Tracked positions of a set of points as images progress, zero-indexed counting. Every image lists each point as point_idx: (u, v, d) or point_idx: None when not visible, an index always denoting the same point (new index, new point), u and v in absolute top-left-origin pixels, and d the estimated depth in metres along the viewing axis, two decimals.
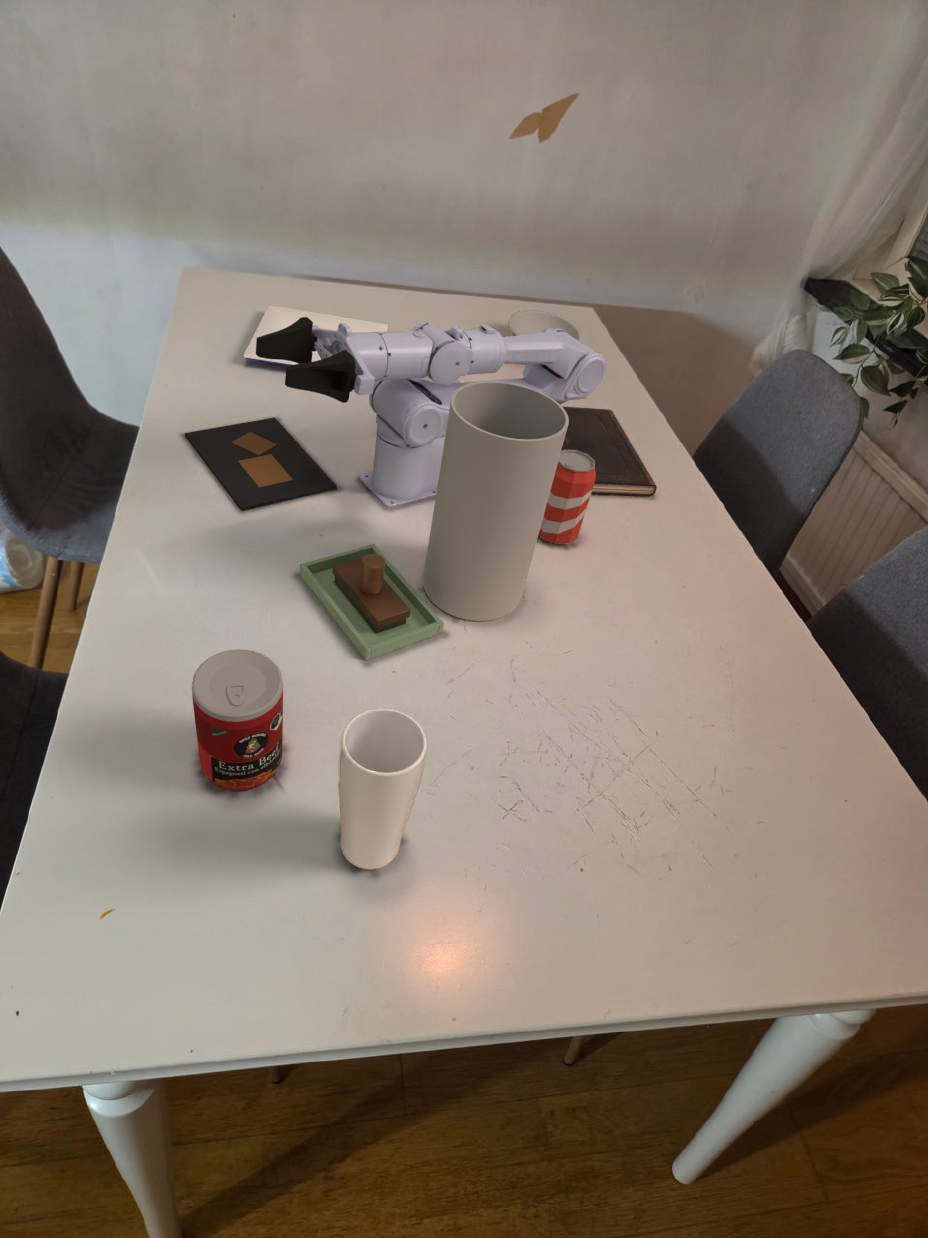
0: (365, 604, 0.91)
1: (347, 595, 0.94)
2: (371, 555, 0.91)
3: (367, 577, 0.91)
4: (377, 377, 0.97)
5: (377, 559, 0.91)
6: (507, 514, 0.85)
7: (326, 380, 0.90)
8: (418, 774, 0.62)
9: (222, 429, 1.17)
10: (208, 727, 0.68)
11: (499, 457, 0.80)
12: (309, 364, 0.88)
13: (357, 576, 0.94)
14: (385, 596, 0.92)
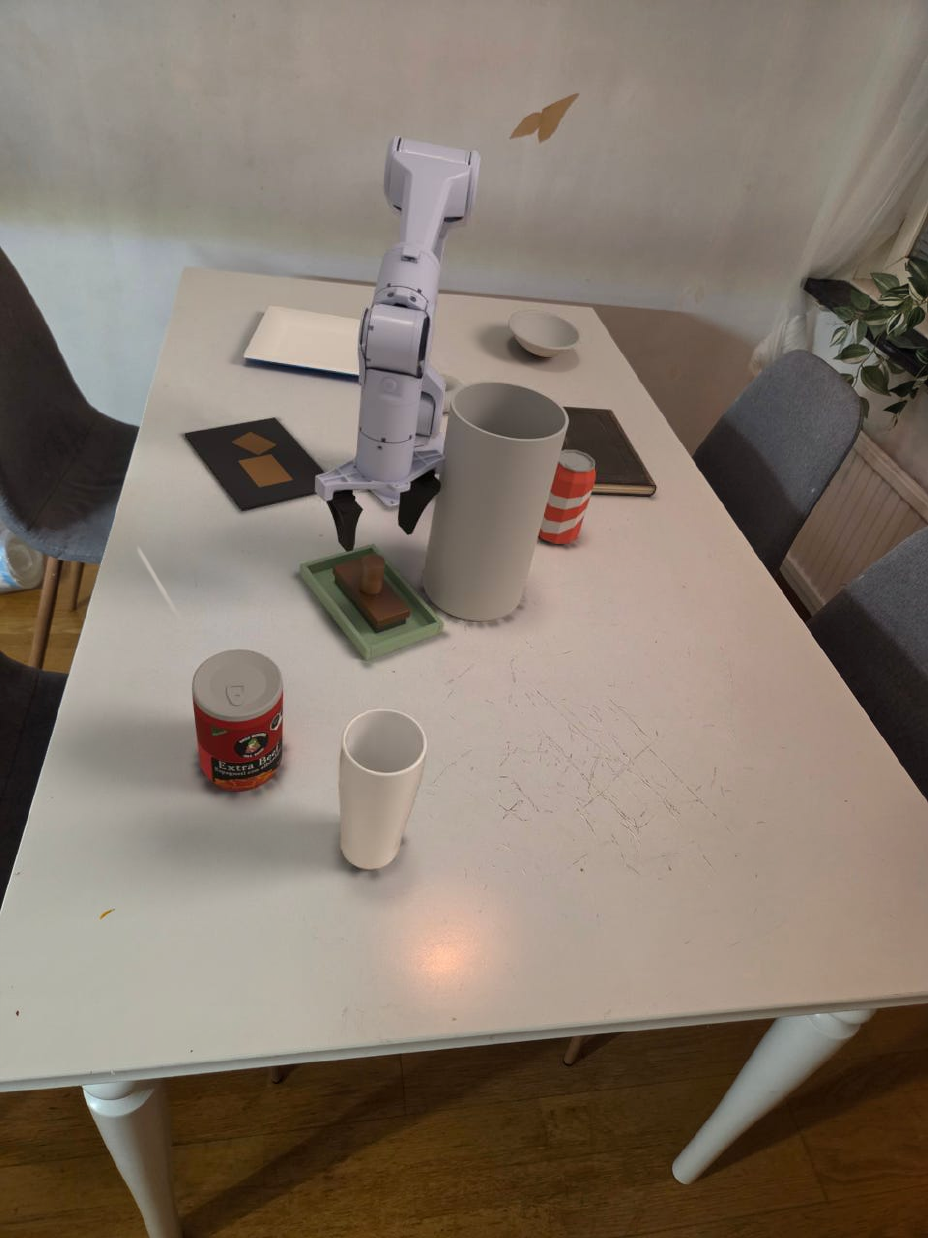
0: (365, 604, 0.91)
1: (347, 595, 0.94)
2: (371, 555, 0.91)
3: (367, 577, 0.91)
4: None
5: (377, 559, 0.91)
6: (507, 514, 0.85)
7: None
8: (418, 774, 0.62)
9: (222, 429, 1.17)
10: (208, 727, 0.68)
11: (499, 456, 0.80)
12: (417, 518, 0.88)
13: (357, 576, 0.94)
14: (385, 596, 0.92)
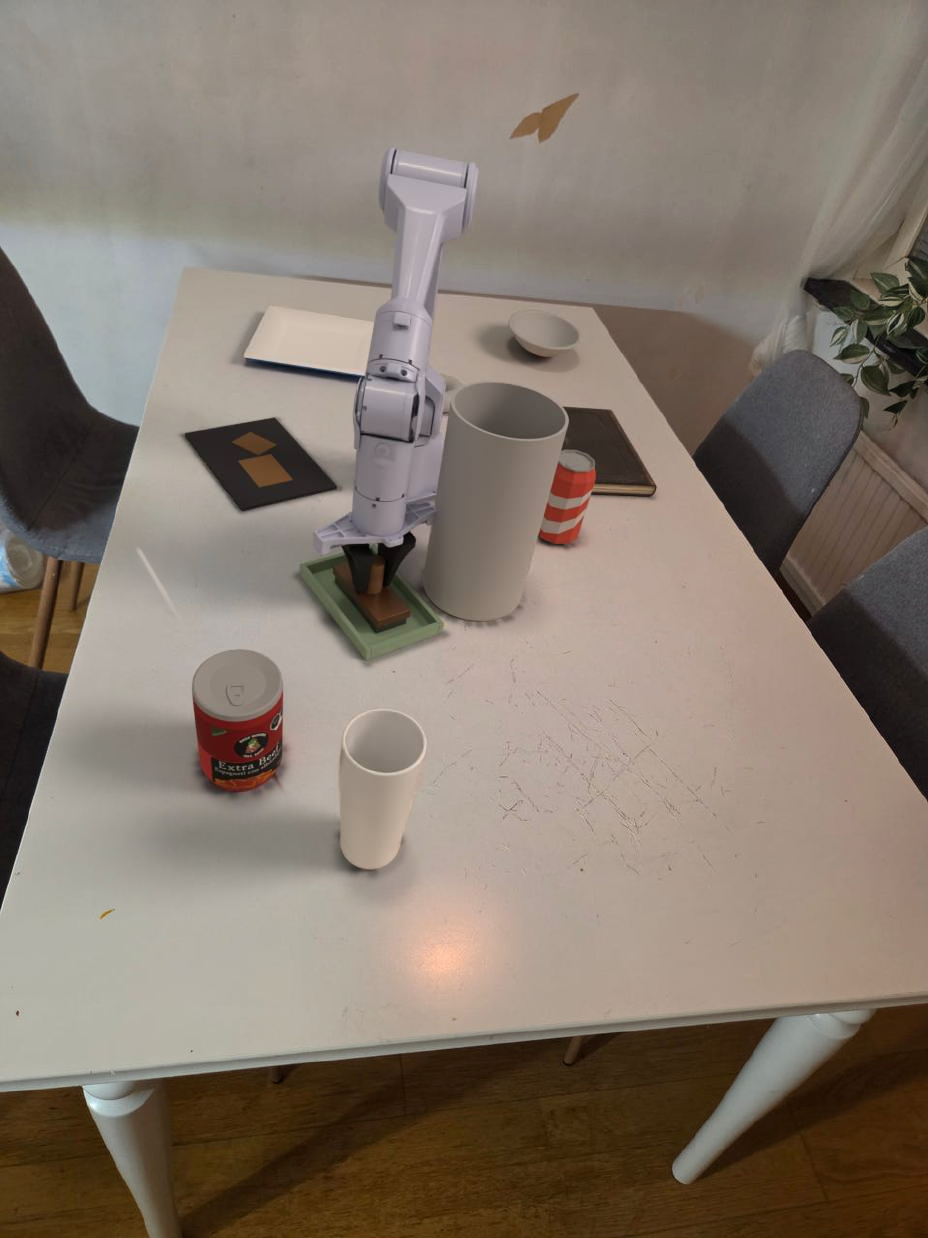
0: (365, 604, 0.91)
1: (348, 595, 0.94)
2: None
3: None
4: None
5: (377, 559, 0.91)
6: (507, 514, 0.85)
7: None
8: (418, 774, 0.62)
9: (222, 429, 1.17)
10: (208, 727, 0.68)
11: (499, 456, 0.80)
12: (393, 571, 0.91)
13: None
14: (385, 596, 0.92)
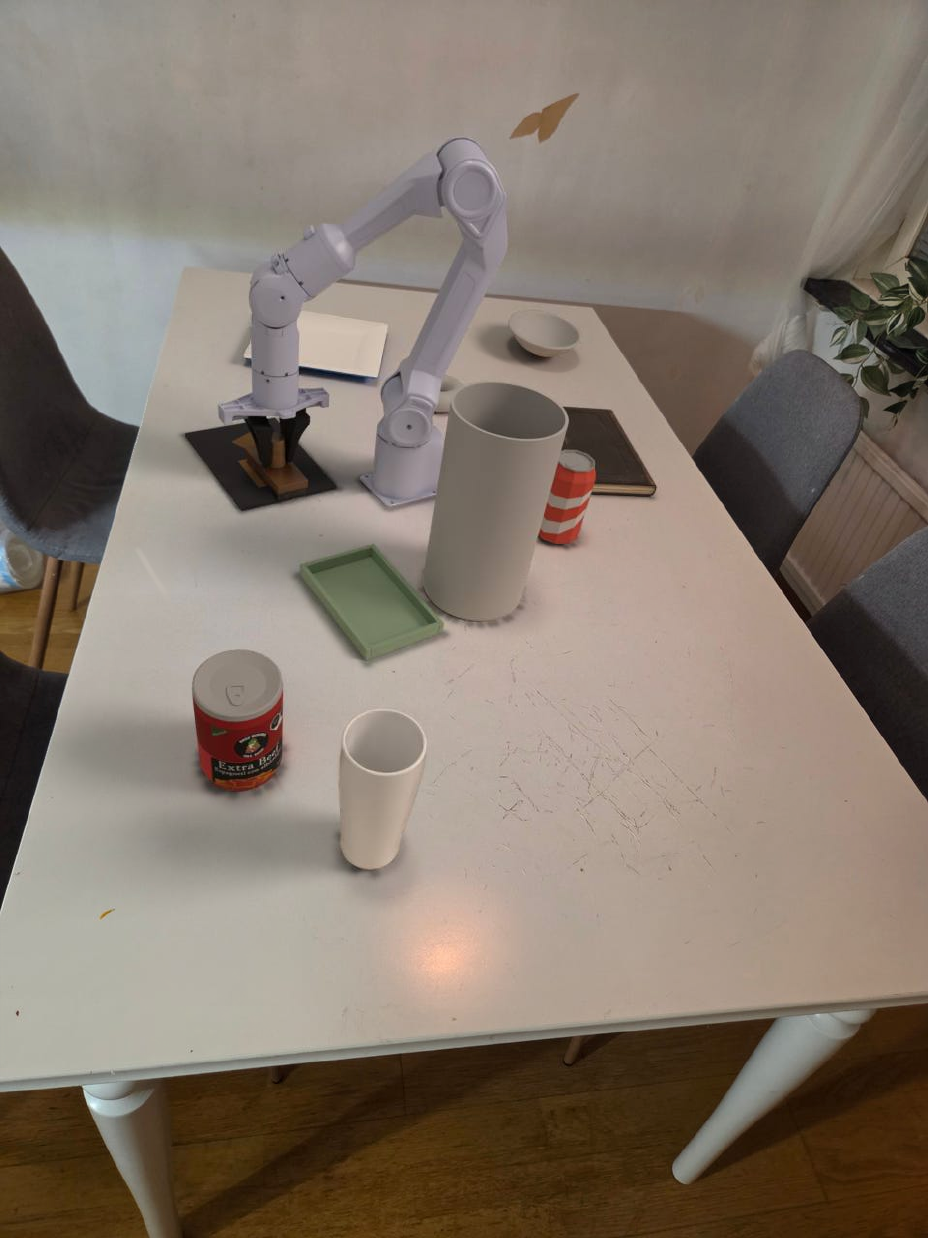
0: (268, 475, 1.06)
1: (256, 471, 1.10)
2: (274, 433, 1.07)
3: None
4: None
5: (278, 436, 1.06)
6: (507, 514, 0.85)
7: None
8: (418, 774, 0.62)
9: (222, 429, 1.17)
10: (208, 727, 0.68)
11: (499, 456, 0.80)
12: (293, 447, 1.07)
13: None
14: (287, 469, 1.08)
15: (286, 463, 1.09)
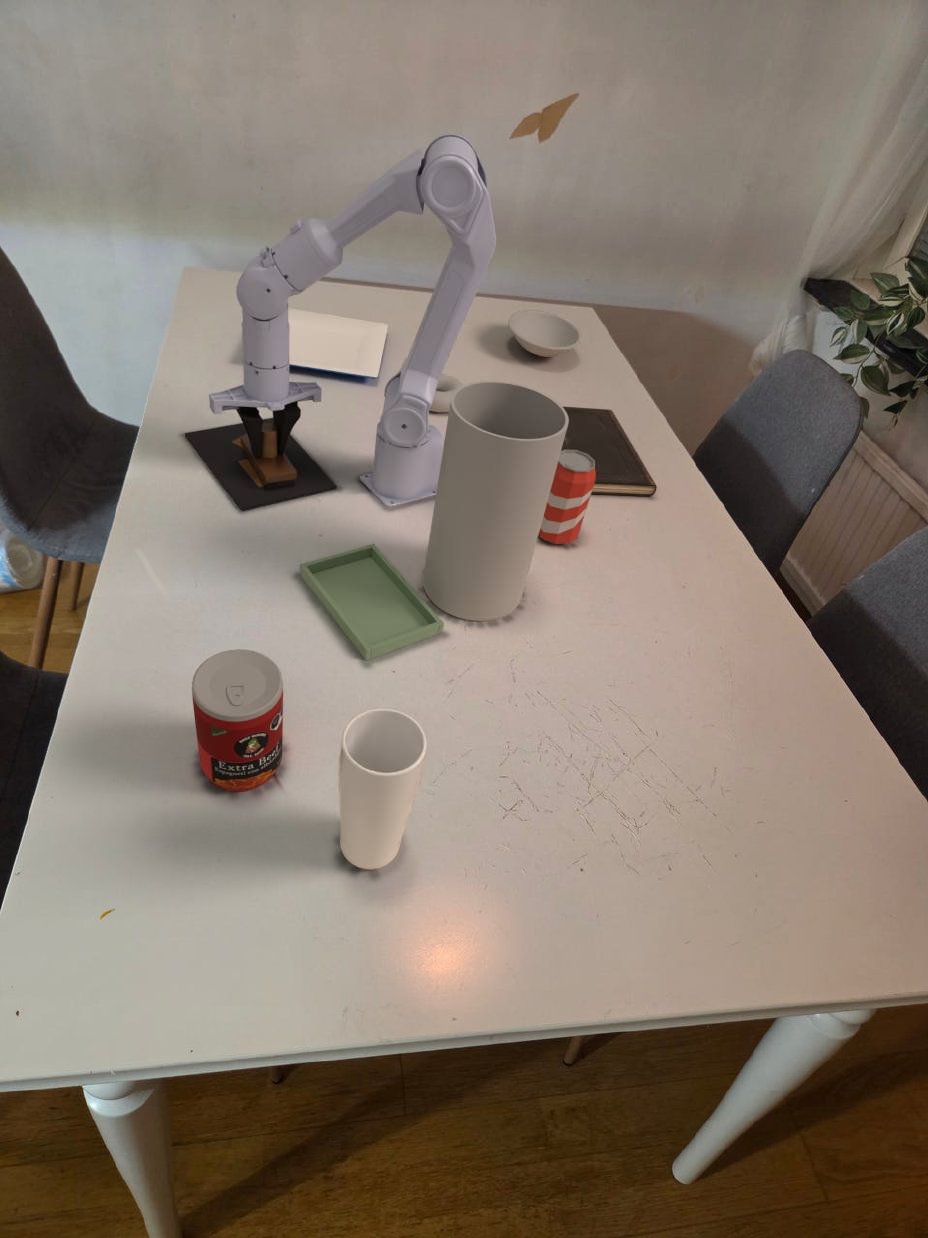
0: (258, 464, 1.08)
1: (250, 461, 1.11)
2: (267, 424, 1.08)
3: (261, 441, 1.08)
4: None
5: (271, 427, 1.08)
6: (507, 514, 0.85)
7: None
8: (418, 774, 0.62)
9: (222, 429, 1.17)
10: (208, 727, 0.68)
11: (499, 456, 0.80)
12: (284, 440, 1.08)
13: None
14: (278, 460, 1.09)
15: (278, 454, 1.10)
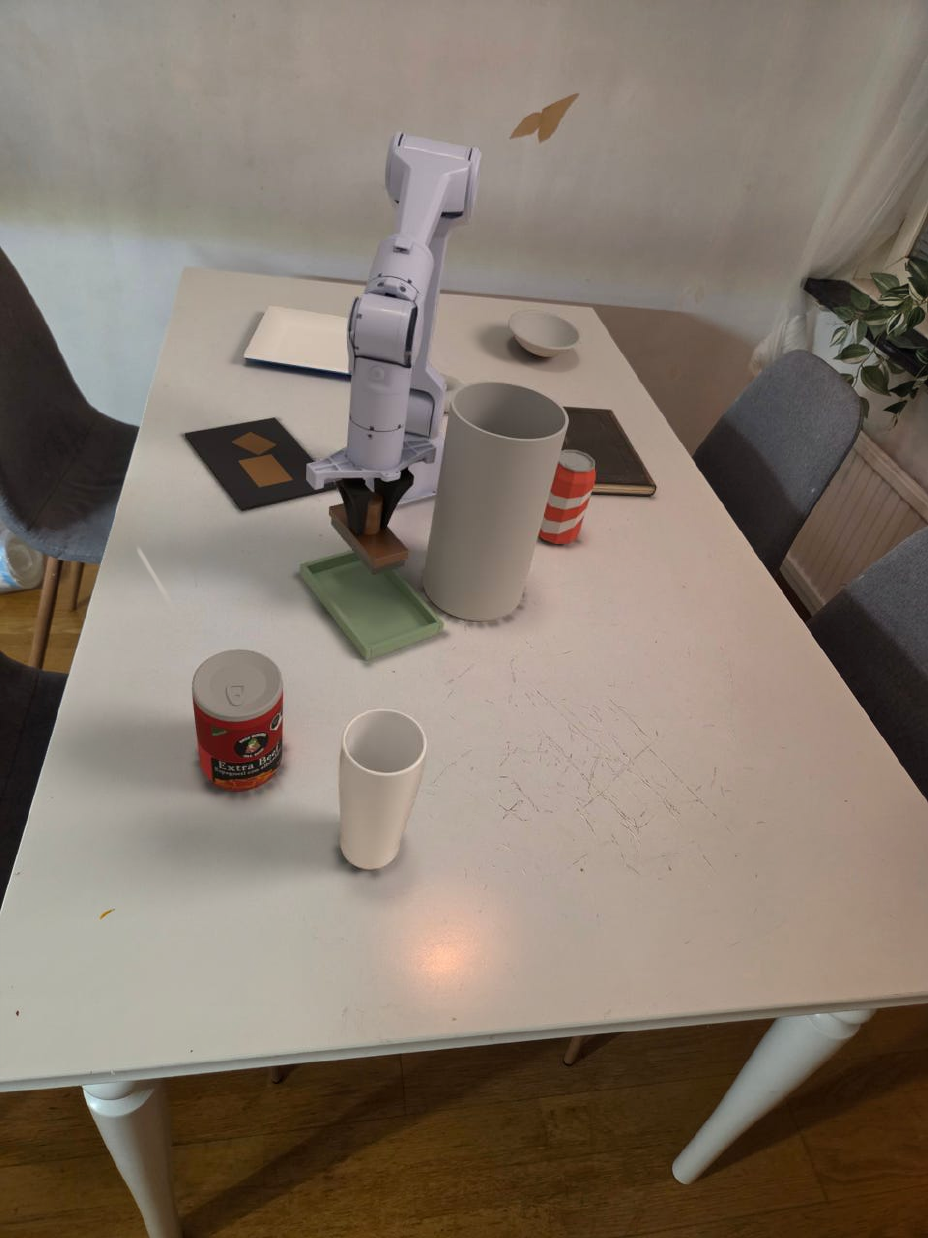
0: (361, 544, 0.87)
1: (344, 537, 0.90)
2: None
3: None
4: None
5: (374, 497, 0.87)
6: (507, 514, 0.85)
7: None
8: (418, 774, 0.62)
9: (222, 429, 1.17)
10: (208, 727, 0.68)
11: (499, 456, 0.80)
12: (391, 511, 0.88)
13: None
14: (383, 536, 0.88)
15: (381, 528, 0.90)
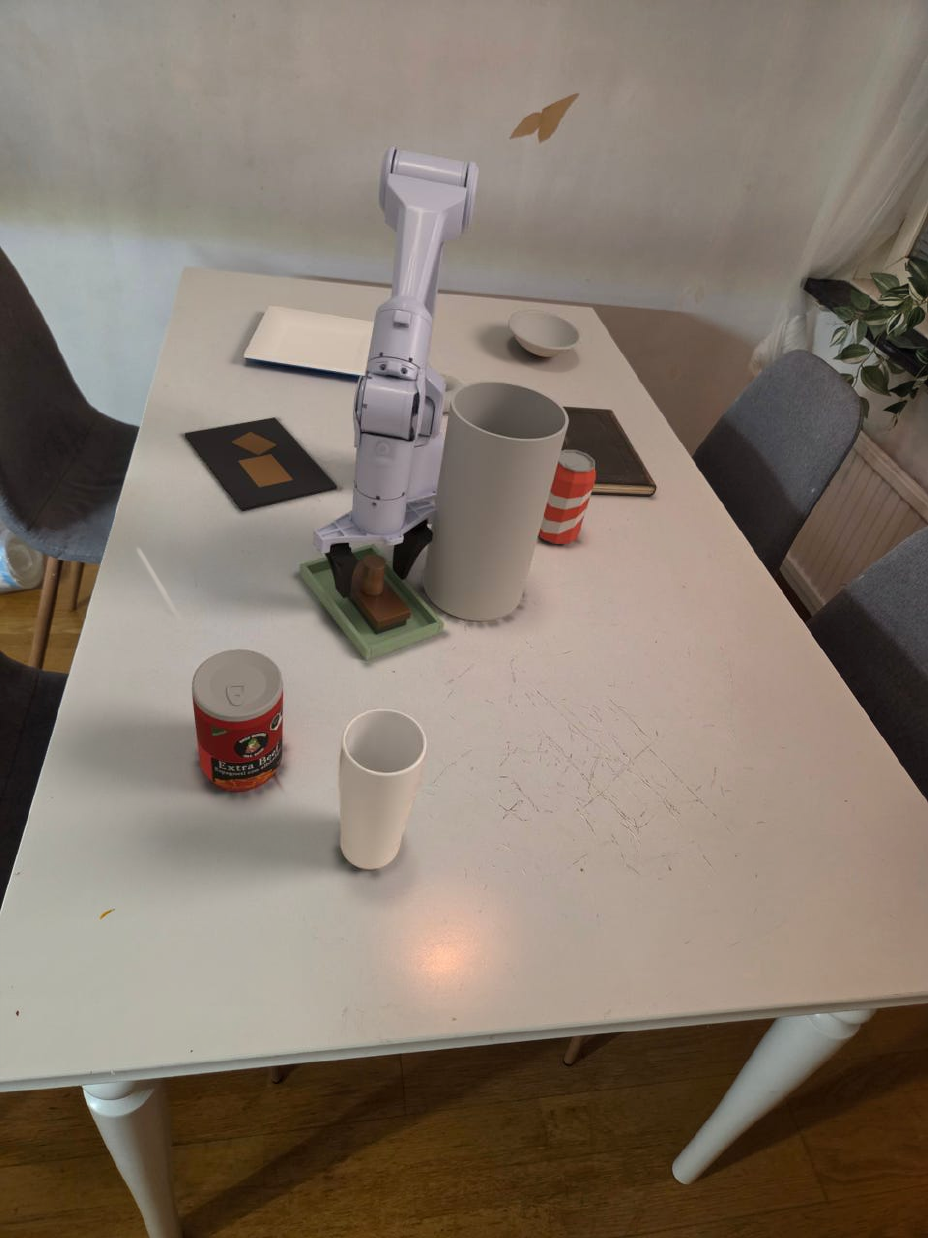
0: (365, 605, 0.91)
1: None
2: (372, 556, 0.91)
3: (367, 578, 0.90)
4: None
5: (378, 560, 0.91)
6: (507, 514, 0.85)
7: None
8: (418, 774, 0.62)
9: (222, 429, 1.17)
10: (208, 727, 0.68)
11: (499, 456, 0.80)
12: (410, 565, 0.92)
13: (358, 577, 0.94)
14: (386, 597, 0.92)
15: (384, 588, 0.93)
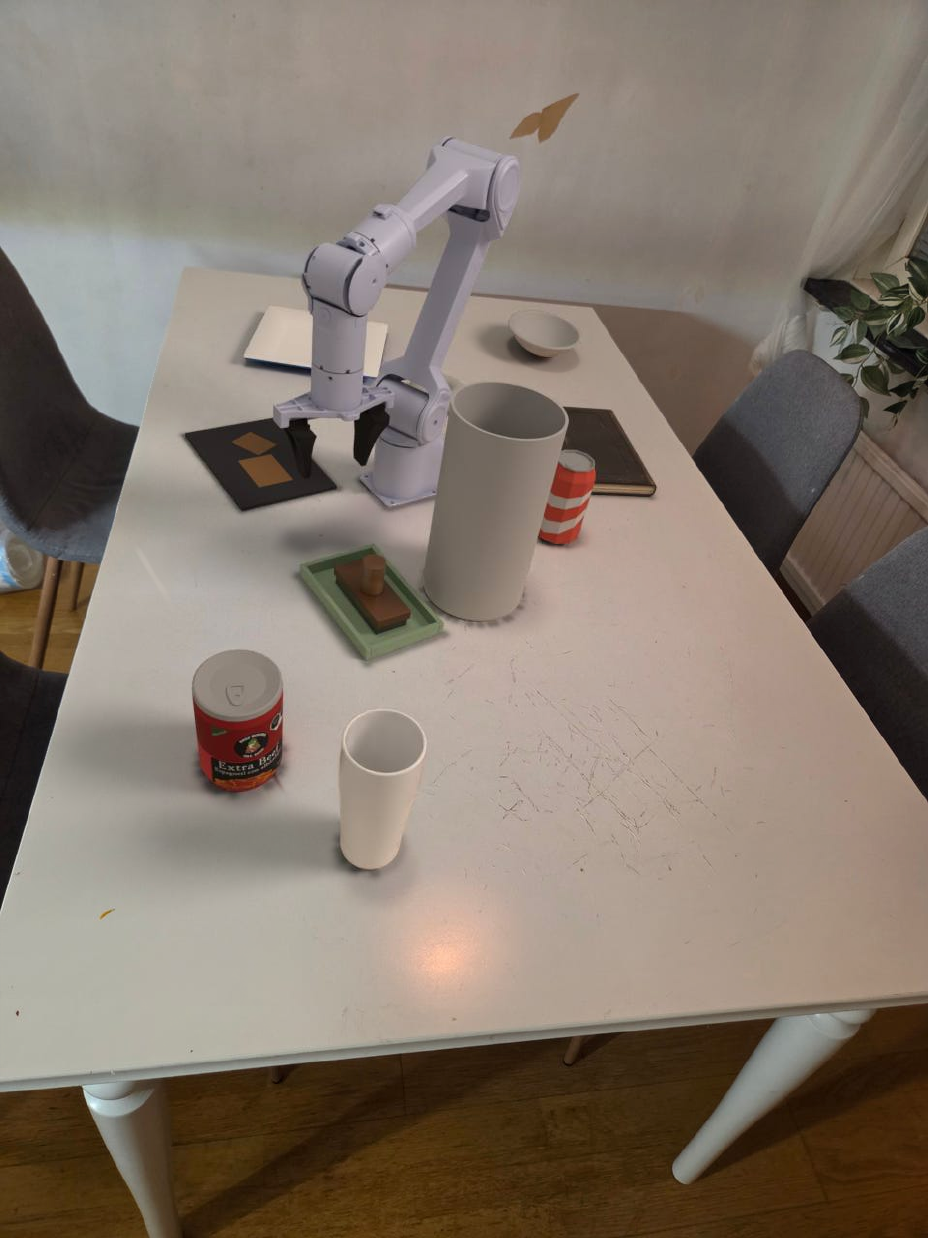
0: (365, 605, 0.91)
1: (348, 596, 0.94)
2: (372, 556, 0.91)
3: (367, 578, 0.90)
4: None
5: (378, 560, 0.91)
6: (507, 514, 0.85)
7: None
8: (418, 774, 0.62)
9: (222, 429, 1.17)
10: (208, 727, 0.68)
11: (499, 456, 0.80)
12: (369, 450, 0.96)
13: (358, 577, 0.94)
14: (386, 597, 0.92)
15: (384, 588, 0.93)
